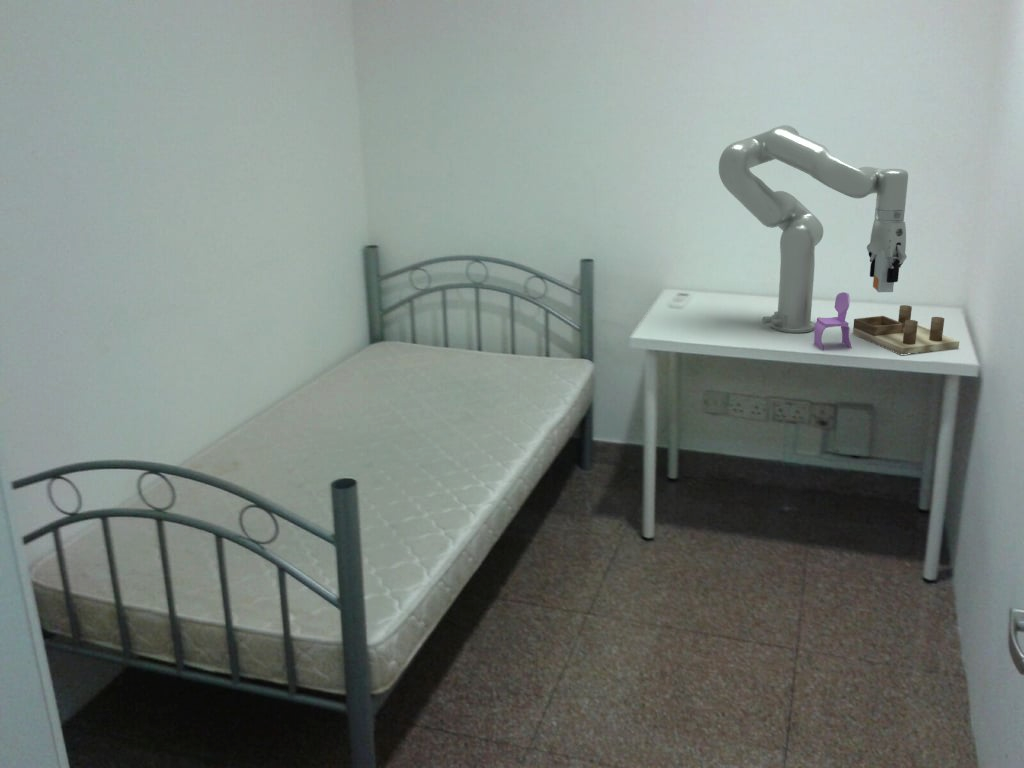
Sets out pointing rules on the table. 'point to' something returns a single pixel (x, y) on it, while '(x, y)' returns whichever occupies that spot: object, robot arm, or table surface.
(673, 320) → the table surface
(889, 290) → the skincare box
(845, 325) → the toy chair
